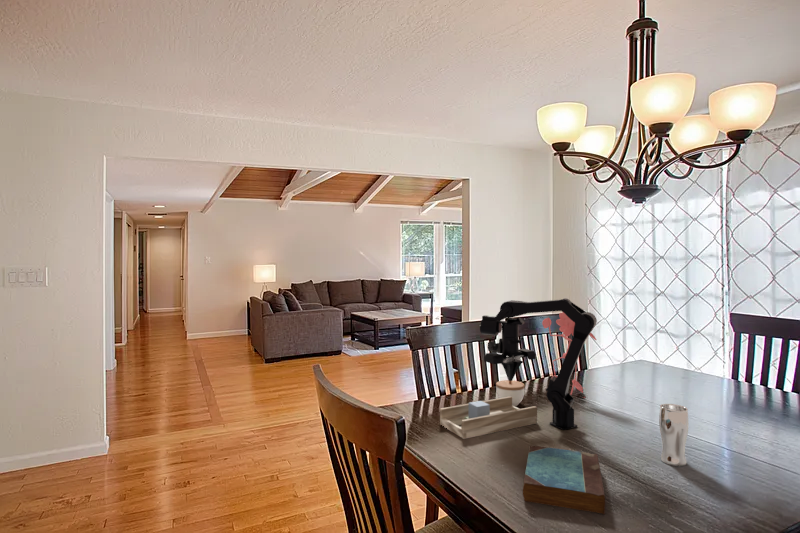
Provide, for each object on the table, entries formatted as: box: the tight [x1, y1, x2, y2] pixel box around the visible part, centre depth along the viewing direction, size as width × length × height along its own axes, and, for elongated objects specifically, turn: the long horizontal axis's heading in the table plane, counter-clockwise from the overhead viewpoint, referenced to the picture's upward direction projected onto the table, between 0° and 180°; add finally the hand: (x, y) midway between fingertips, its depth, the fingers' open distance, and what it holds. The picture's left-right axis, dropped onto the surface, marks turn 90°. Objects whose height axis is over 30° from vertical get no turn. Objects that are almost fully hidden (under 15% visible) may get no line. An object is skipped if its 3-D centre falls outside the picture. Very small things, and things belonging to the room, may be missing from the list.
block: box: [468, 400, 490, 418], centre depth 157 cm, size 5×5×5 cm
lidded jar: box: [495, 379, 526, 407], centre depth 181 cm, size 11×11×9 cm
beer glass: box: [658, 403, 689, 467], centre depth 129 cm, size 7×7×15 cm
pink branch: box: [541, 311, 597, 399], centre depth 199 cm, size 15×26×35 cm, turn 38°
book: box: [522, 444, 606, 515], centre depth 116 cm, size 23×18×5 cm
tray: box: [439, 396, 538, 440], centre depth 159 cm, size 14×30×6 cm, turn 117°
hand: (510, 380), depth 165 cm, fingers closed
